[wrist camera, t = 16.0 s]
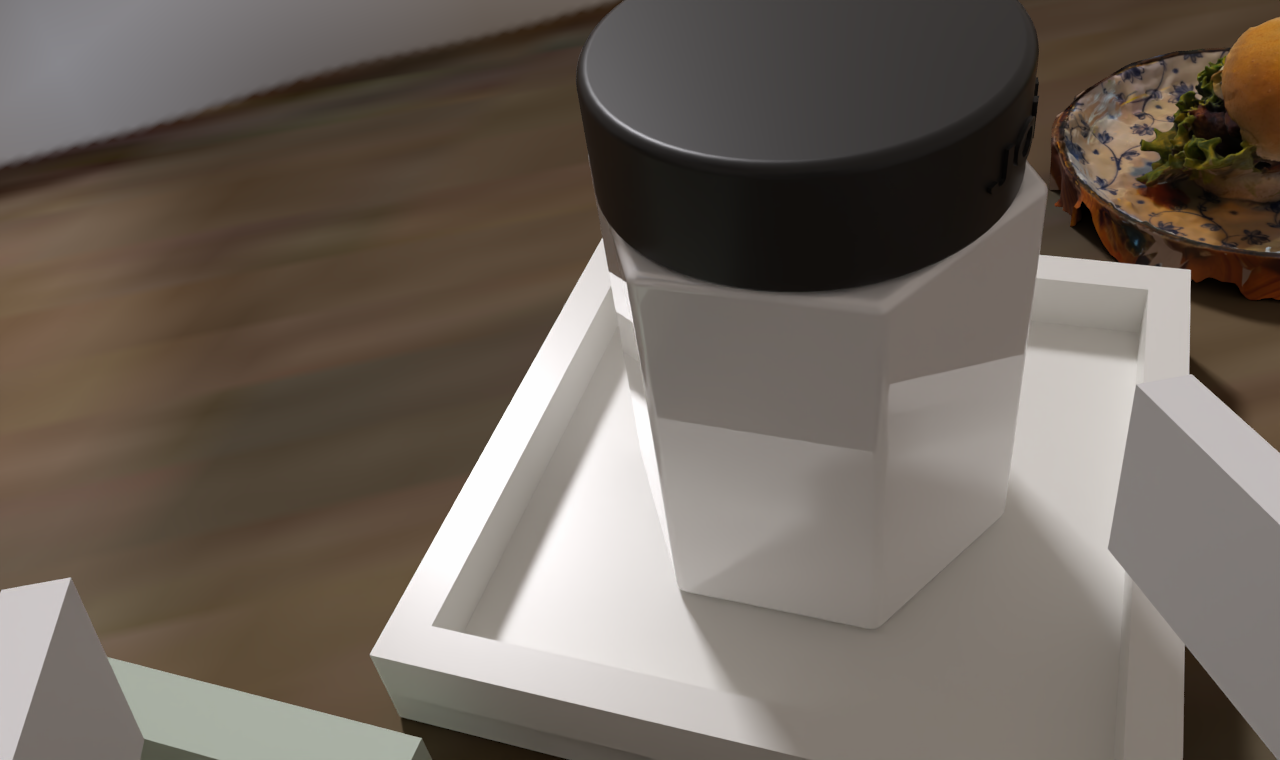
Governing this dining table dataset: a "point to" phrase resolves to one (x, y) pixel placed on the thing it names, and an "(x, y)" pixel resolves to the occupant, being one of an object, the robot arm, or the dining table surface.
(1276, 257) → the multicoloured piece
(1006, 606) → the tray
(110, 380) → the dining table surface
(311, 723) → the pale green square frame
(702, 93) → the jar
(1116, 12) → the dining table surface
